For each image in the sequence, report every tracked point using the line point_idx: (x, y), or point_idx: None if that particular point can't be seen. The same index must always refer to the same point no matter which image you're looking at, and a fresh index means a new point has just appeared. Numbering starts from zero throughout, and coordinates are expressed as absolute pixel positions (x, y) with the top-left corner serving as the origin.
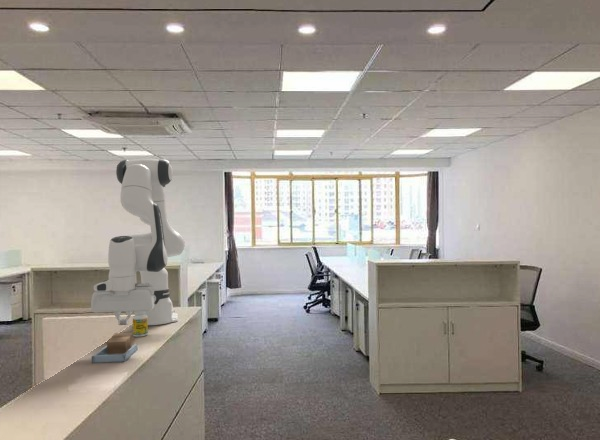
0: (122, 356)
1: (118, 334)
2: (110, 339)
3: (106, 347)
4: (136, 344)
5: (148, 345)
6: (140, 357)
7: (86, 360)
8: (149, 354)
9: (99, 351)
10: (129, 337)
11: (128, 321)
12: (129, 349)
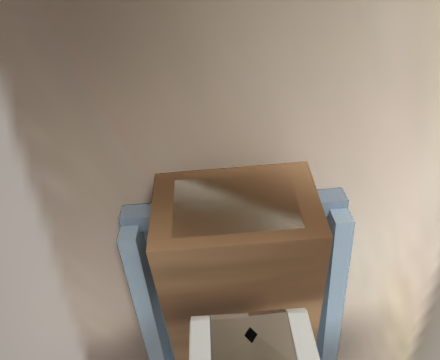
0: None
1: (197, 272)
2: (179, 341)
3: (146, 281)
4: (350, 230)
5: (410, 68)
6: (388, 315)
7: (110, 349)
8: (434, 274)
9: (154, 352)
10: (321, 306)
11: (312, 339)
12: (329, 325)
